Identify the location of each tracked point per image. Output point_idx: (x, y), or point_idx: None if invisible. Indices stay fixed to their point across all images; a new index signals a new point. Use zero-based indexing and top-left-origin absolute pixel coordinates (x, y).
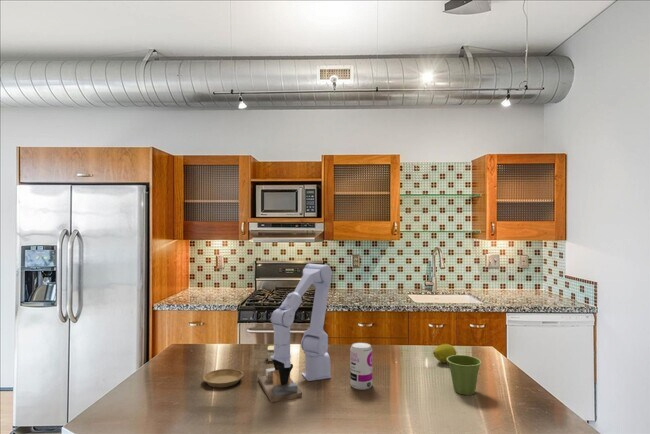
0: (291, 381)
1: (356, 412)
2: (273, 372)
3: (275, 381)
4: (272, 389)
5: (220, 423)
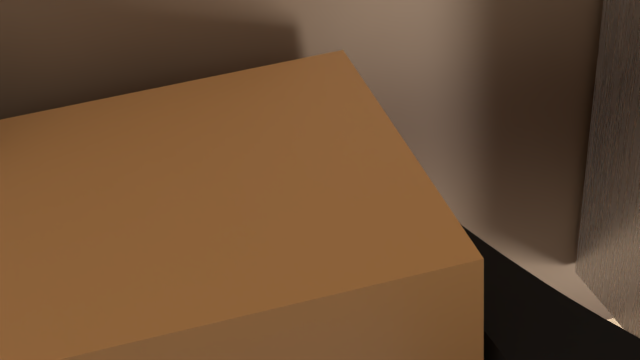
0: None
1: None
2: (348, 262)
3: (40, 197)
4: (186, 18)
5: None
